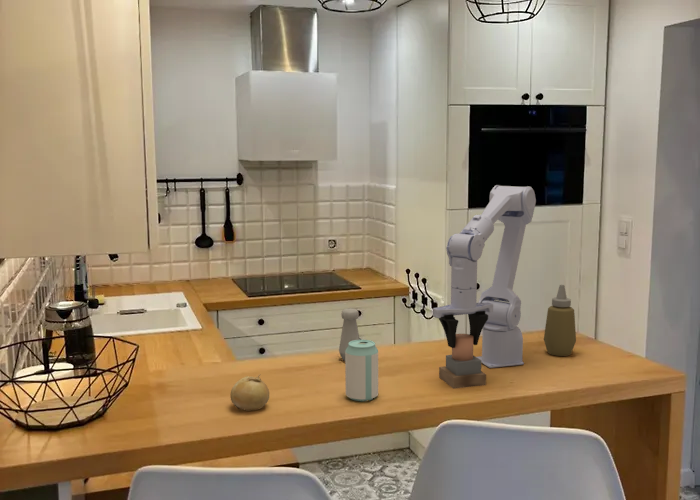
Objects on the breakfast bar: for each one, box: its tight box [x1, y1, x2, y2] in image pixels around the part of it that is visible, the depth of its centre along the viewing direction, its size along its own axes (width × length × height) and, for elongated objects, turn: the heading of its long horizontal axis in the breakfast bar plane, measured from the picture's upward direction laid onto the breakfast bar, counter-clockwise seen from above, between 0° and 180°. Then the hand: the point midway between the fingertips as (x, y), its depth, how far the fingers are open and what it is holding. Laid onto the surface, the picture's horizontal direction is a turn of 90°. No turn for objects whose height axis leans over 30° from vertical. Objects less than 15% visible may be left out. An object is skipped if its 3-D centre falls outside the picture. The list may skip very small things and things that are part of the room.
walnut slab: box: [438, 365, 487, 389], centre depth 164 cm, size 8×8×3 cm
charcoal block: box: [445, 354, 482, 376], centre depth 163 cm, size 6×6×3 cm
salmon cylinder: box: [451, 333, 474, 361], centre depth 163 cm, size 5×5×5 cm
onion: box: [230, 373, 270, 412], centre depth 148 cm, size 8×8×7 cm
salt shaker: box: [338, 307, 361, 362], centre depth 179 cm, size 6×6×13 cm
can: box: [344, 339, 379, 402], centre depth 153 cm, size 7×7×12 cm
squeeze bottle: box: [543, 284, 577, 357], centre depth 183 cm, size 8×8×18 cm
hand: (462, 345), depth 163 cm, fingers open, 5 cm apart
